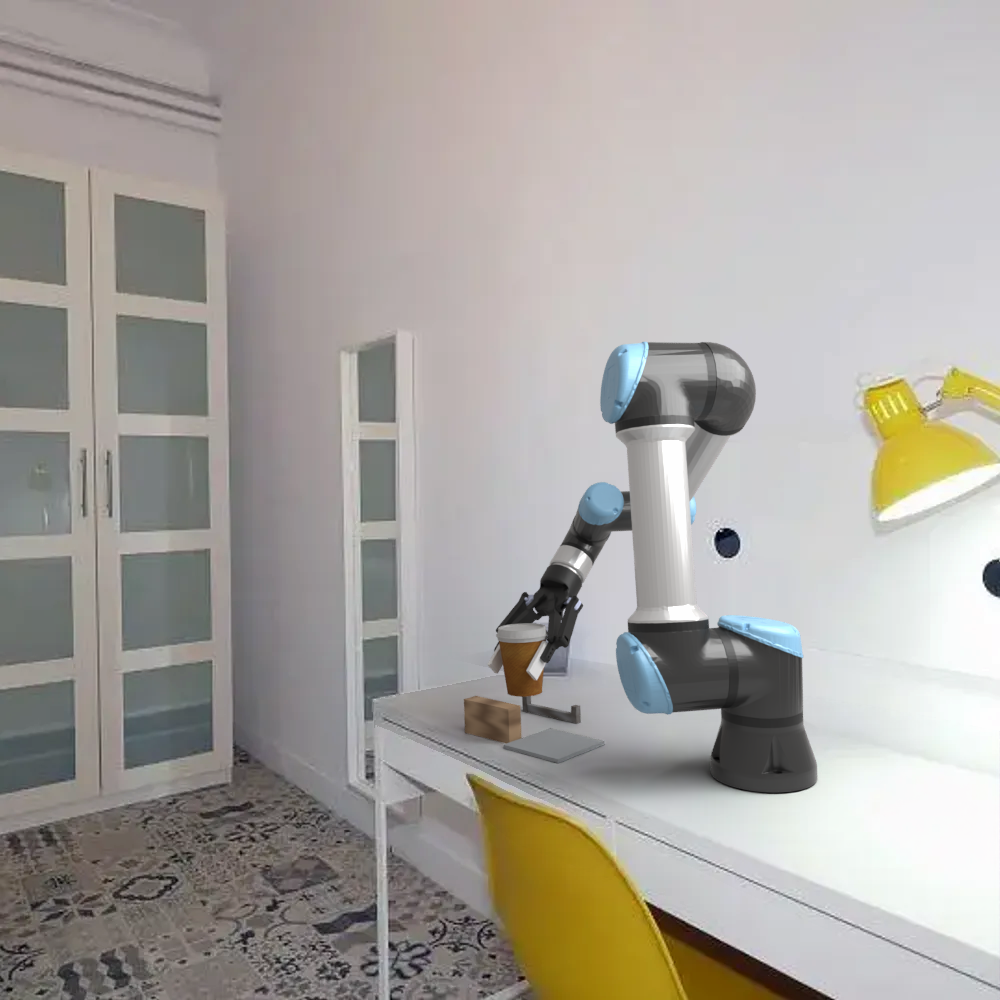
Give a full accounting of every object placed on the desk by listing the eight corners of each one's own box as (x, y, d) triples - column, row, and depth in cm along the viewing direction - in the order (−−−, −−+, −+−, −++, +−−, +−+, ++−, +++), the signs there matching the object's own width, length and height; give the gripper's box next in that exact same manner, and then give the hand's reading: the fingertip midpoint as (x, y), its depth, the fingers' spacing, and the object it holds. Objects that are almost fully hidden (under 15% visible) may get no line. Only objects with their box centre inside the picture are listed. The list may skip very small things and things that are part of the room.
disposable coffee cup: (551, 686, 161) (549, 622, 161) (549, 698, 152) (546, 630, 152) (501, 687, 162) (498, 623, 162) (496, 699, 153) (492, 632, 153)
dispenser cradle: (580, 722, 158) (579, 689, 158) (514, 746, 145) (513, 710, 145) (526, 710, 167) (525, 679, 167) (460, 731, 155) (459, 698, 154)
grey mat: (604, 744, 144) (604, 740, 144) (558, 763, 136) (557, 759, 136) (550, 731, 153) (550, 727, 153) (503, 748, 144) (503, 744, 144)
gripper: (620, 590, 160) (568, 692, 149) (533, 584, 175) (480, 676, 164) (601, 564, 156) (546, 667, 145) (514, 560, 172) (458, 653, 160)
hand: (511, 672), depth 155 cm, fingers closed on disposable coffee cup, 9 cm apart
